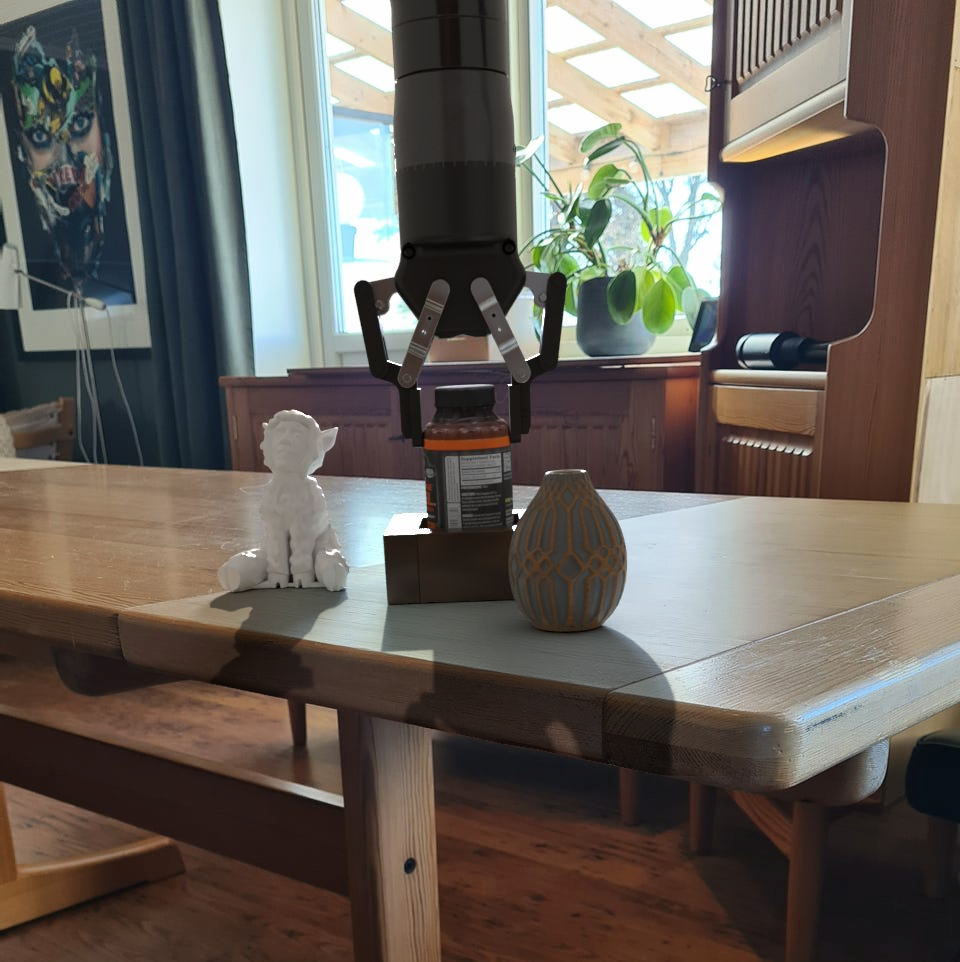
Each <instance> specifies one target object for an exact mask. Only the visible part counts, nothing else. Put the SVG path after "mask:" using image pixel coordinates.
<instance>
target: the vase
mask: <svg viewBox="0 0 960 962" xmlns="http://www.w3.org/2000/svg"><path fill="white" fill-rule="evenodd" d="M525 509H526V510H525V511H524V513H523V514H522V516H521V517H520V519H519V521H518V522H517V524H516V527H515V529H514V532H513V535H512V539H511V543H510V548H509V556H508V569H509V580H510V586H511V590H512V593H513V596H514V599H513V600H514V601H515V603H516V605H517V607H518V610H519V611H520V612H521V613H522V615H523V616H524V617H525V618H526V619H527V621H528V622H529V623H531V625H533V626H534V627H535V628H536V629H539V630H542V631H548V632H563V633H564V632H565V633H569V632H570V633H571V632H582V631H588V630H593V629H597V628H599V627H601V626H602V625H604V624H605V623H606V621H607V620H609V618H610V617H611V616H612V615H613V614H614V612H615V611H616V610H617V608H618V606H619V604H620V602H621V600H622V597H623V593H624V591H625V587H626V582H627V575H628V551H627V545H626V540H625V536H624V533H623V530H622V528H621V525H620V523H619V521H618V518H617V517H616V516H615V514H614V513H613V511H612V510H611V509H610V507H609V505H608V504H607V503H606V501H605V500H604V499H603V498H602V497H601V495H600V494H599V493H598V491H597V490H596V488H595V486H594V484H593V482H592V480H591V478H590V475H589V472H588V471H587V470H584V469H558V470H550V471H547V472H545V473H544V476H543V478H542V481H541V483H540V486H539V488H538V490H537V492H536V493H535V494H534V496H533V498H532V499H531V500H530V502H529V503H528V505H527V506H526V507H525Z"/></svg>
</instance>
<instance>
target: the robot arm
mask: <svg viewBox="0 0 960 962" xmlns="http://www.w3.org/2000/svg"><path fill="white" fill-rule="evenodd" d="M389 4H390V13H391V14H390V15H391V17H390V20H391V21H390V23H391V41H392V59H393V77H394V79H393V80H394V103H393V120H392V124H393V125H392V127H393V128H392V129H393V133H392V134H393V149H394V150H393V152H394V153H393V157H394V164H395V166H394V167H395V179H396V180H395V181H396V182H395V183H396V199H397V217H398V218H397V219H398V233H399V234H398V235H399V250H400V251H399V253H400V255H399V256H400V257H399V263H398V266H397V269H396V271H395V273H394V276H392V277H387V278H381V279H376V280H371V281H367V280H365V279H360V280H358V281H357V282H356V283H355V284H354V286H353V294H354V300H355V304H356V310H357V312H358V313H357V314H358V319H359V325H360V329H361V334H362V339H363V344H364V348H365V353H366V358H367V362H368V368H369V372H370V374H371V375H372V377H374V378H375V379H379V380H382V381H384V382H388V383H391V384H393V385H394V386H395V387H396V389H397V392H398V395H399V396H398V397H399V414H400V430H401V433H402V435H403V436H402V437H403V438H404V440H411V441H412V442H411V444H412V448H413V449H419V448H421V449H423V430H424V417H423V400H422V399H423V397H422V387H419V381H418V380H419V378H420V375H421V372H422V370H423V368H424V366H425V362H426V359H427V357H428V354H429V352H430V350H431V348H432V345H433V342H434V340H435V338H436V339H439V340H448V339H449V340H451V339H454V338H457V337H460V336H467V337H471V338H487V337H488V336H491V337H492V338H493V340H494V342H495V345H496V347H497V349H498V351H499V352H500V355H501V357H502V359H503V362H505V365H506V367H507V369H508V371H509V373H510V384H507V385H508V387H507V389H508V414H509V416H508V417H509V419H508V421H509V428H510V437H511V445H521V444H522V435H529V432H530V430H531V427H532V420H531V419H532V416H531V415H532V414H531V410H532V409H531V385H532V383H533V381H534V380H535V379H536V378H537V377H540V376H543V375H544V374H547V373H548V372H553V371H555V369H556V368H557V367H558V364H559V358H560V357H559V355H560V348H561V339H562V332H563V331H562V330H563V320H564V313H565V306H566V305H565V304H566V296H567V288H568V279H567V276H566V275H565V274H564V273H563V272H561V271H554V272H552V273H549V272H540V271H531V270H530V271H529V270H526V268H525V266H524V264H523V262H522V260H521V258H520V255H519V254H520V253H519V247H518V246H519V244H518V211H517V209H518V208H517V207H518V206H517V178H516V171H517V170H516V157H517V146H516V141H515V120H514V119H515V118H514V111H513V110H514V109H513V104H512V102H513V101H512V97H511V96H512V95H511V90H510V89H511V88H510V78H509V45H508V44H509V42H508V11H507V0H389ZM524 288H527V289H528V290H530V292H531V294H532V302H533V304H534V305H535V306H536V307H537V308H539V309H543V311H542V321H541V328H540V329H541V330H540V339H539V346H538V353H537V354H536V355H534V356H531V357H529V358H528V359H526V357H525V356H524V354H523V351H522V349H521V347H520V345H519V342H518V340H517V339H516V336H515V335H514V333H513V330H512V328H511V326H510V324H509V322H508V320H507V318H506V317H507V315H508V313H509V312H510V311H511V309H512V307H513V306H514V304H515V303H516V301H517V299H518V297H519V296H520V294H521V293H522V291H523V289H524ZM395 294H398V296H399V297H400V298H401V299H402V301H403V302H404V304H405V305H406V307H407V308H408V309H409V310H410V312H411V313H412V314H413V316H414V317H415V318H416V320H417V323H416V325H415V327H414V328H415V329H414V331H413V334H412V336H411V339H410V342H409V345H408V347H407V351H406V353H405V356H404V358H403V361H402V364H400V363H397V362H393V361H390V358H389V352H388V347H387V342H386V337H385V333H384V327H383V322H382V316H385V315H387V313H388V312H389V311H390V309H391V298H392V297H393V296H394V295H395ZM500 329H501V330H500Z"/></svg>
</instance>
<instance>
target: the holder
mask: <svg viewBox="0 0 960 962" xmlns="http://www.w3.org/2000/svg"><path fill="white" fill-rule="evenodd" d="M525 510H526V508H524V509H523V508H522V509H513V517H514V526H491V527H467V528H443V529H428V522H427V512H426V513H402V514H394V515H393V516H392V517H391V520H390V521H389V524H388V525H387V528H386V530H385V531H384V533H383V535H382V542H383V543H382V544H383V558H384V570H385V571H384V573H385V587H386V603H387V605H407V604H408V603H411V604H430V603H429V602H436V603H457V602H459V603H460V602H481V601H482V602H483V601H485V602H486V601H505V600H506V601H508V600H515V599H514V596H513V593H512V590H511V586H510V580H509V569H508V556H509V548H510V543H511V539H512V535H513V532H514V529H515V527H516V524H517V522H518V521H519V519H520V517H521V516H522V514H523V513H524V511H525ZM408 605H409V604H408Z"/></svg>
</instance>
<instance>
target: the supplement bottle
mask: <svg viewBox="0 0 960 962" xmlns="http://www.w3.org/2000/svg"><path fill="white" fill-rule="evenodd" d="M495 392H496V391H495V386H494V384H486V383H485V384H483V383H480V384H459V385H457V384H456V385H443V386H436V387H435V388H434V404H433V406H434V408H435V409H436V410H435V412H434V413H433V416H432V418H431V420H430V422H428V423H426V425H425V426H424V427H423V448H422V452H423V457H422V458H423V470H424V471H423V473H424V485H425V501H426V503H425V505H426V513H427V522H428V529H443V528H467V527H491V526H514V517H513V510H514V492H513V491H514V488H513V487H514V486H513V460H512V459H513V458H512V444H511V437H510V425H509V423H508V422H507V421H506V420H504V418H501V417H500V416H499V415H498V414H497V413H496V412H495V411H494V407H495V405H496V404H497V401H496V393H495Z"/></svg>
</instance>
